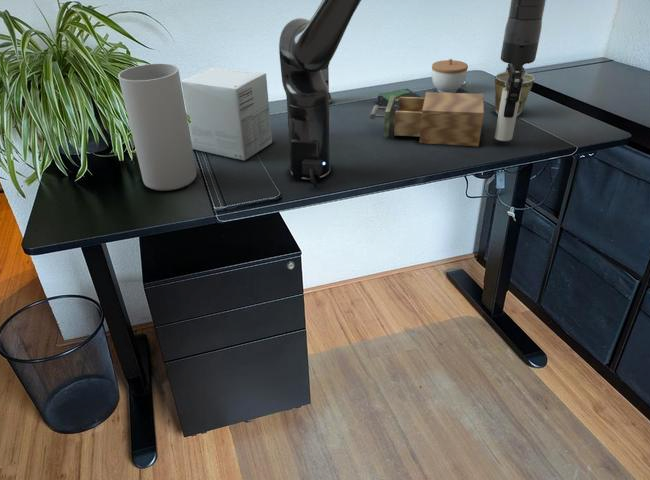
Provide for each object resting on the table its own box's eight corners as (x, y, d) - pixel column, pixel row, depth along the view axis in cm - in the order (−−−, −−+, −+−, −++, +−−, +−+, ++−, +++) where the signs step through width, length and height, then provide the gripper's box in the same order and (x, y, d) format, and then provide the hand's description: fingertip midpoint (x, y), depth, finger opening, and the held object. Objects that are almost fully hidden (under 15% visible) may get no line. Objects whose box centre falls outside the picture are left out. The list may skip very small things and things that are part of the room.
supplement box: (273, 142, 144) (268, 72, 134) (245, 162, 135) (236, 88, 125) (221, 132, 152) (212, 65, 141) (191, 150, 143) (179, 80, 132)
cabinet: (419, 143, 140) (422, 110, 134) (423, 123, 150) (426, 91, 145) (478, 146, 136) (483, 112, 131) (478, 125, 147) (483, 93, 142)
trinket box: (427, 94, 169) (430, 63, 163) (431, 84, 177) (434, 54, 172) (463, 96, 166) (467, 65, 161) (465, 85, 174) (469, 55, 169)
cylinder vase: (199, 167, 134) (182, 62, 119) (193, 190, 124) (173, 79, 109) (149, 170, 134) (125, 65, 119) (138, 193, 124) (111, 82, 109)
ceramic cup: (519, 122, 148) (527, 84, 142) (484, 115, 153) (489, 79, 147) (535, 107, 156) (543, 71, 150) (501, 101, 161) (507, 67, 155)
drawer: (367, 136, 143) (368, 110, 139) (374, 118, 153) (375, 94, 149) (436, 139, 138) (439, 113, 134) (439, 121, 148) (442, 96, 144)
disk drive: (431, 112, 157) (407, 97, 168) (432, 103, 155) (407, 87, 167) (399, 118, 154) (376, 102, 166) (399, 108, 153) (376, 92, 164)
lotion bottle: (512, 141, 133) (523, 84, 125) (494, 140, 134) (504, 84, 126) (511, 134, 137) (522, 79, 129) (494, 134, 138) (503, 78, 130)
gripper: (502, 30, 128) (490, 102, 138) (505, 46, 117) (492, 123, 127) (536, 31, 126) (522, 104, 137) (542, 47, 115) (526, 125, 125)
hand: (507, 113), depth 132 cm, fingers closed on lotion bottle, 4 cm apart
